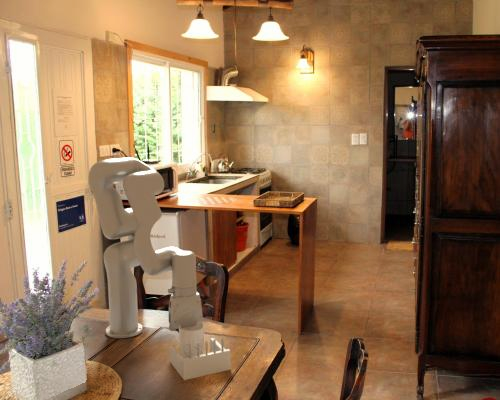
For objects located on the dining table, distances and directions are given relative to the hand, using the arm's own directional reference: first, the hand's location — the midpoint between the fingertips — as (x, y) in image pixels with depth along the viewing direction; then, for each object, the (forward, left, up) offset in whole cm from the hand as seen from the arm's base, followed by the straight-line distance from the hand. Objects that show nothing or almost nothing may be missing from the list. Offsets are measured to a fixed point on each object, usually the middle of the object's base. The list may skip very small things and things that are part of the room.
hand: (185, 345), depth 173 cm
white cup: (+5, 0, -2) cm, 6 cm away
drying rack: (+12, 0, -2) cm, 12 cm away
